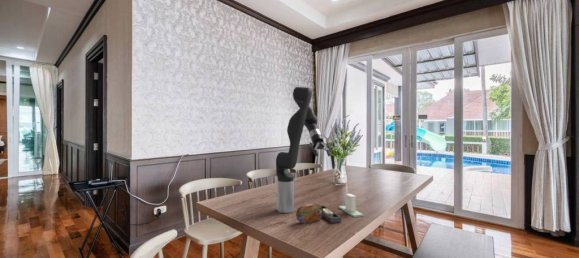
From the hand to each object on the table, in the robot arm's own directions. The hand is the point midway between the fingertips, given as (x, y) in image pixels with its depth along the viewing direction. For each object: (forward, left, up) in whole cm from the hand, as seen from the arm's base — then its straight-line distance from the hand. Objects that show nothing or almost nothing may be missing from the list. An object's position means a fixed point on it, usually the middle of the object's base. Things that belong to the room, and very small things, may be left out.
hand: (323, 155), depth 156 cm
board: (+7, -21, -30) cm, 37 cm away
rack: (-8, -23, -30) cm, 39 cm away
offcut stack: (-8, -22, -30) cm, 38 cm away
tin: (-20, -27, -30) cm, 45 cm away
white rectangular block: (+7, -21, -29) cm, 36 cm away
